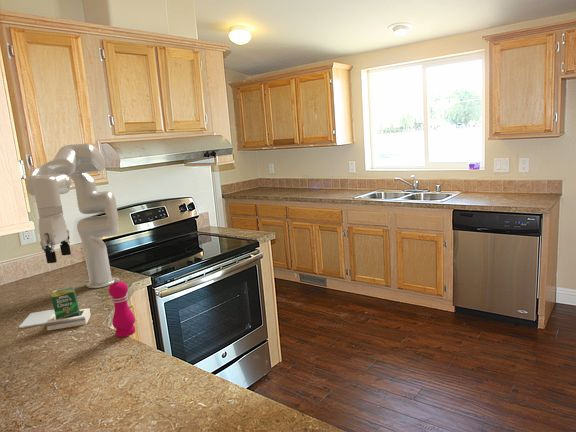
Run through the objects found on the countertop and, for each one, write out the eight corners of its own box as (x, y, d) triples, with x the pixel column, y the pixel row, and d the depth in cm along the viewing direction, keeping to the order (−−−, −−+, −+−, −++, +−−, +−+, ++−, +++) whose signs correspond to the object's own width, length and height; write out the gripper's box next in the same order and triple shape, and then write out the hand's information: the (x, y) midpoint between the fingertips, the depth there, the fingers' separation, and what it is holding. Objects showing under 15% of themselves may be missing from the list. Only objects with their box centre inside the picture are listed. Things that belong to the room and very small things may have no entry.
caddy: (53, 321, 163) (52, 314, 163) (90, 315, 166) (89, 308, 166) (46, 331, 155) (45, 324, 154) (85, 325, 158) (84, 317, 157)
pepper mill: (129, 338, 144) (119, 281, 140) (110, 338, 146) (100, 281, 142) (141, 328, 151) (131, 274, 147) (122, 328, 153) (112, 274, 149)
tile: (30, 314, 172) (30, 313, 172) (60, 309, 174) (60, 308, 174) (18, 328, 160) (18, 327, 159) (51, 323, 162) (51, 321, 162)
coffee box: (56, 326, 158) (49, 293, 156) (58, 323, 161) (51, 290, 158) (80, 322, 161) (74, 289, 158) (81, 319, 163) (75, 286, 161)
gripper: (53, 208, 160) (61, 253, 163) (25, 217, 143) (35, 267, 146) (73, 206, 160) (81, 251, 163) (47, 215, 143) (57, 265, 146)
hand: (59, 258), depth 155 cm, fingers open, 9 cm apart
